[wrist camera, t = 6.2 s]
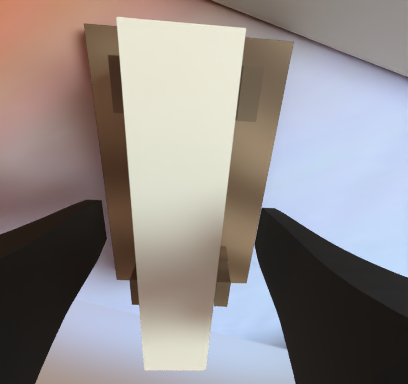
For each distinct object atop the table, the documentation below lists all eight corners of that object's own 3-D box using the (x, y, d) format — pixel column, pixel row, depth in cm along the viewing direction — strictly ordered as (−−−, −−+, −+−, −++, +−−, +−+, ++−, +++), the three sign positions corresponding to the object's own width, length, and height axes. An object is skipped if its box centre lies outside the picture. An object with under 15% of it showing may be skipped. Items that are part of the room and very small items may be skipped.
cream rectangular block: (203, 288, 16) (205, 370, 11) (159, 287, 15) (144, 370, 11) (223, 56, 10) (246, 27, 5) (154, 51, 10) (116, 16, 5)
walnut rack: (243, 271, 19) (256, 323, 15) (121, 268, 18) (99, 320, 14) (285, 46, 12) (330, 23, 8) (94, 29, 11) (38, -4, 7)
